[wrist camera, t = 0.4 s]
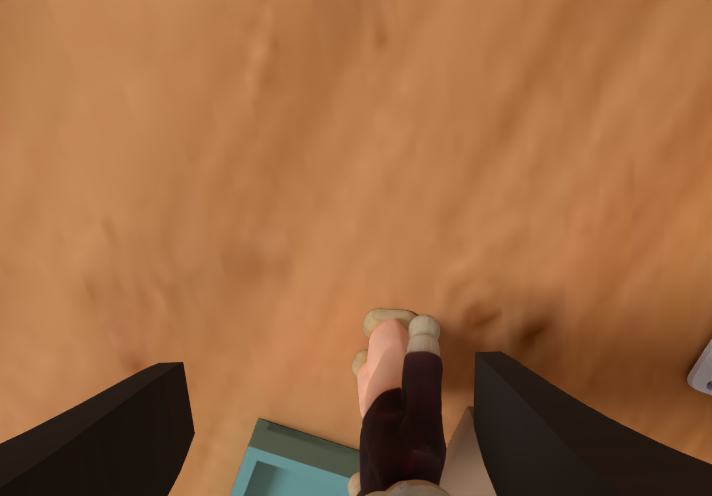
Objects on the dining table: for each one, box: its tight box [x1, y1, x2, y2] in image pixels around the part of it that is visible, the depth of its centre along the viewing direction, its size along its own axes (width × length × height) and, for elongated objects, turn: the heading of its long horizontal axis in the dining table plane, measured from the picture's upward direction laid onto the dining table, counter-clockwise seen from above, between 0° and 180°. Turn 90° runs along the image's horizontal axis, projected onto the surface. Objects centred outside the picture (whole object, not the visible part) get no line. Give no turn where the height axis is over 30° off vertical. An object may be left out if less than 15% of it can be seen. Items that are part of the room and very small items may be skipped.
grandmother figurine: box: [348, 309, 451, 496], centre depth 14 cm, size 8×4×13 cm, turn 174°
